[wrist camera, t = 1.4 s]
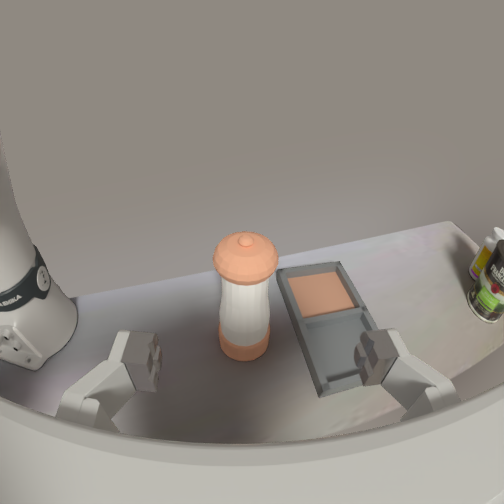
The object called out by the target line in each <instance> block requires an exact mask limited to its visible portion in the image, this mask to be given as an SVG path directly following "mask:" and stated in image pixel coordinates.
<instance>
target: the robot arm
mask: <svg viewBox="0 0 504 504" xmlns="http://www.w3.org/2000/svg"><path fill="white" fill-rule="evenodd" d="M76 324H77V310H76V307H75V305H74V303H73V302H72V301H71V300H70V299H69V298H68V297H67V296H66V295H65V294H64V293H63V292H62V291H61V289H60V287H59V286H58V285H57V284H56V283H55V282H54V280H53V279H52V278H51V276H50V275H49V273H48V270H47V267H46V265H45V263H44V261H43V259H42V257H41V255H40V252H39V251H38V249H37V247H36V246H35V245H33V244H32V242H31V240H30V237H29V235H28V232H27V230H26V228H25V225H24V223H23V221H22V218H21V216H20V213H19V210H18V208H17V205H16V202H15V198H14V194H13V189H12V185H11V180H10V176H9V171H8V167H7V162H6V158H5V153H4V149H3V144H2V138H1V134H0V359H2V360H5V361H8V362H10V363H13V364H16V365H19V366H22V367H25V368H28V369H31V370H38V369H39V368H40V367H41V366H42V365H43V364H44V362H45V361H46V360H47V359H48V358H49V357H50V356H52V355H53V354H55V353H56V352H58V351H59V350H60V349H61V348H63V347H64V346H65V344H66V343H67V342H68V341H69V339H70V338H71V336H72V334H73V332H74V330H75V327H76ZM359 338H360V341H361V342H359V343H358V344H357V345H356V347H355V350H354V361H355V364H356V366H357V367H358V368H359V369H360V370H361V371H360V373H359V375H360V378H361V381H362V384H363V386H371V385H378V384H381V386H382V387H383V388H384V389H385V390H386V391H387V392H388V393H390V394H391V395H392V396H393V397H394V398H395V399H396V400H397V401H398V402H399V403H400V404H401V405H402V406H403V407H404V408H405V409H406V410H407V412H406V413H405V414H404V415H403V416H402V418H401V419H400V421H401V422H398V423H394V424H390V425H386V426H382V427H378V428H373V429H369V430H365V431H359V432H354V433H349V434H343V435H338V436H331V437H324V438H316V439H308V440H299V441H288V442H274V443H252V444H217V443H194V442H181V441H170V440H161V439H153V438H145V437H139V436H132V435H127V434H121V433H119V432H120V431H119V430H118V428H117V427H116V426H115V424H114V423H113V422H112V420H111V419H112V418H113V416H114V415H115V414H116V413H117V412H118V411H119V410H120V409H121V408H122V407H123V405H124V404H125V403H126V402H127V401H128V400H129V399H130V398H131V397H132V396H133V394H134V393H135V392H136V390H138V391H148V392H156V391H157V386H158V380H159V378H158V374H157V372H158V371H160V370H161V364H162V353H161V348H160V347H159V346H158V345H157V344H158V336H157V334H156V333H148V332H138V331H128V330H119V332H118V333H117V336H116V338H115V341H114V344H113V346H112V349H111V352H110V355H109V357H108V360H104V361H102V362H101V363H100V364H99V365H97V366H96V367H95V368H94V369H92V370H91V371H90V372H88V373H87V374H86V375H85V376H83V377H82V378H81V379H80V380H78V381H77V382H76V383H74V384H73V385H72V386H71V387H69V388H68V389H67V390H66V391H64V394H63V397H62V399H61V402H60V405H59V408H58V411H57V414H56V416H55V417H53V416H50V415H47V414H44V413H41V412H38V411H35V410H32V409H30V408H27V407H24V406H22V405H19V404H17V403H14V402H12V401H9V400H7V399H5V398H2V397H0V504H504V382H503V383H501V384H499V385H497V386H495V387H493V388H491V389H489V390H487V391H484V392H482V393H480V394H478V395H476V396H473V397H471V398H468V399H466V400H463V401H461V400H460V398H459V396H458V394H457V392H456V390H455V388H454V386H453V384H452V382H451V380H449V379H448V378H446V377H445V376H443V375H442V374H441V373H439V372H438V371H436V370H435V369H433V368H432V367H430V366H429V365H427V364H426V363H425V362H423V361H422V360H420V359H419V358H417V357H416V356H414V355H410V353H409V351H408V350H407V348H406V346H405V344H404V342H403V340H402V339H401V337H400V335H399V333H398V331H397V330H396V329H395V328H391V329H381V330H372V331H363V332H362V333H361V335H360V337H359Z"/></svg>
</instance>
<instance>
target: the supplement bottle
mask: <svg viewBox="0 0 504 504" xmlns="http://www.w3.org/2000/svg"><path fill="white" fill-rule="evenodd" d="M501 239H503V240H504V231H503V230H502V229H500V228H498V227H495V228H494V229H493V231H492V235H488V236H486V237H485V239H484V241H483V243H482V245H481V247H480V249H479V251H478V252H477V254H476V256H475V258H474V260H473V262H472V263H471V265H470V267H469V272H470V275H471V277H472V278H473V279H474V280H475V281H476V280H477V278H478V277H479V275H480V273H481V272H482V270H483V268H484V267H485V265H486V263H487V261H488V260H489V258H490V256H491V255H492V253H493V251H494V249H495V247H496V244H497V242H498V241H499V240H501Z"/></svg>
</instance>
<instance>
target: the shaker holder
mask: <svg viewBox="0 0 504 504" xmlns="http://www.w3.org/2000/svg"><path fill="white" fill-rule="evenodd" d="M277 282H278V285H279V288H280V291H281V293H282V296H283V299H284V301H285V304H286V307H287V310H288V312H289V315H290V318H291V321H292V324H293V326H294V329H295V332H296V335H297V337H298V340H299V343H300V346H301V349H302V351H303V354H304V357H305V360H306V363H307V365H308V368H309V371H310V374H311V377H312V380H313V382H314V385H315V388H316V391H317V394H318V397H319V398H321V397H324V396H328V395H331V394H335V393H338V392H342V391H345V390H348V389H351V388H355V387H358V386H361V385H363V384H362V381H361V378H360V375H359V373H360V371H361V370H360V369H359V368H358V367H357V366H356V364H355V361H354V350H355V347H356V345H357V344H358V343H359V342H361V341H360V338H359V337H360V335H361V333H362V332H363V331H372V330H379V329H378V328H377V326H376V324H375V322H374V320H373V318H372V317H371V315H370V313H369V311H368V309H367V308H366V306H365V304H364V302H363V300H362V299H361V297H360V295H359V293H358V292H357V290H356V288H355V287H354V285H353V283H352V281H351V280H350V278H349V276H348V275H347V273H346V271H345V270H344V268H343V266H342V264H341V263H340V261H338V262H331V263H324V264H316V265H309V266H301V267H293V268H286V269H278V272H277Z"/></svg>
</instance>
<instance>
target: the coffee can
mask: <svg viewBox="0 0 504 504" xmlns="http://www.w3.org/2000/svg"><path fill="white" fill-rule="evenodd" d="M467 300H468V304H469V306H470V308H471V309H472V311H473V312H474V314H475V315H476V316H477V317H479V318H480V319H481V320H483V321H485V322H487V323H495V322H497V321H498V320H499V318H500V317H501V315H502V314H503V313H504V240H503V239H501V240H499V241H498V242H497V244H496V247H495V249H494V251H493V253H492V255H491V256H490V258H489V260H488V261H487V263H486V265H485V267H484V268H483V270H482V272H481V273H480V275H479V277H478V278H477V280H476V281H475V283H474V284H473V286H472V287H471V289H470V290H469V292H468V294H467Z"/></svg>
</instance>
